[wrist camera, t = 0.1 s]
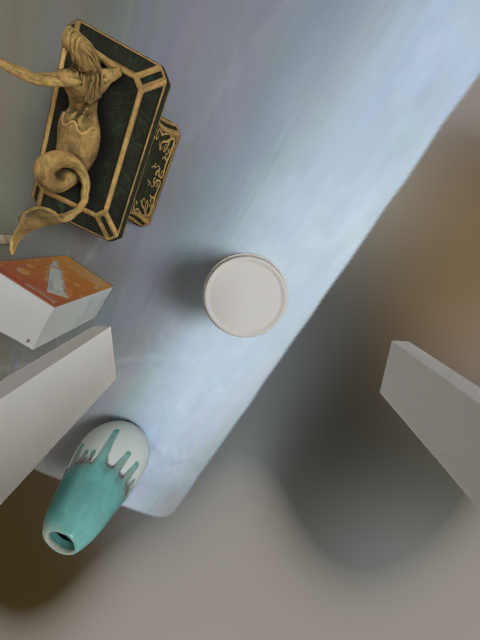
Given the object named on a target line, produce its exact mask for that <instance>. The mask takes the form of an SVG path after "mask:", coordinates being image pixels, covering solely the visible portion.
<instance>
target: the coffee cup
mask: <svg viewBox="0 0 480 640" xmlns="http://www.w3.org/2000/svg"><path fill="white" fill-rule="evenodd" d="M288 297H289V293H288V286H287V282H286V280H285V277H284V275H283V273H282V272H281V271H280V269H279V268H278V267H277V266H276V265H275V264H274V263H273V262H272V261H270V260H269V259H267V258H265V257H263V256H261V255H257V254H253V253H239V254H234V255H231V256H228V257H226V258H224V259H223V260H221V261H220V262H219V263H217V264H216V265H215V266H214V267H213V268H212V270H211V271H210V272H209V274H208V276H207V278H206V280H205V283H204V287H203V303H204V307H205V310H206V313H207V315H208V316H209V318H210V320H211V321H212V322H213V323H214V324H215V325H216V326H217V327H218V328H219V329H221V330H222V331H224V332H226V333H228V334H230V335H233V336H237V337H254V336H258V335H261V334H264V333H266V332H267V331H269V330H271V329H272V328H273V327H274V326H275V325H277V323H278V322H279V321H280V320H281V318H282V317H283V315H284V313H285V311H286V308H287V305H288Z"/></svg>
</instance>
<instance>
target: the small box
mask: <svg viewBox="0 0 480 640" xmlns="http://www.w3.org/2000/svg"><path fill="white" fill-rule="evenodd" d="M112 288H113V286H112V285H110V284H109V283H107V282H106V281H104V280H102V279H101V278H99V277H98V276H96V275H95V274H93V273H92V272H90V271H89V270H87V269H86V268H84V267H83V266H81V265H80V264H79V263H77V262H76V261H74V260H73V259H71V258H70V257H68V256H67V255H64V256H54V257H43V258H32V259H22V260H11V261H1V262H0V332H1V333H3V334H5V335H7V336H9V337H11V338H13V339H15V340H16V341H18V342H20V343H21V344H23V345H25V346H27V347H28V348H30V349H32V350H34V349H35V348H37V347H39V346H41V345H43V344H45V343H47V342H49V341H51V340H53V339H54V338H56V337H58V336H60V335H62V334H64V333H66V332H68V331H70V330H72V329H74V328H76V327H78V326H79V325H81V324H83V323H85V322H87V321H89V320H91V319H93V318H94V317H96V315H97V314H98V312H99V310H100V308H101V307H102V305H103V303H104V302H105V300H106V298H107V296H108V295H109V293H110V291H111V290H112Z"/></svg>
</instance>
